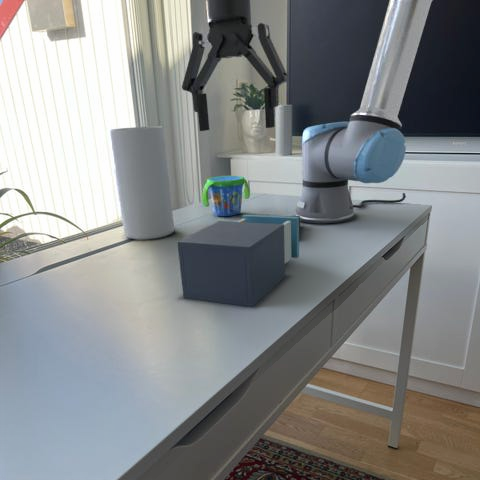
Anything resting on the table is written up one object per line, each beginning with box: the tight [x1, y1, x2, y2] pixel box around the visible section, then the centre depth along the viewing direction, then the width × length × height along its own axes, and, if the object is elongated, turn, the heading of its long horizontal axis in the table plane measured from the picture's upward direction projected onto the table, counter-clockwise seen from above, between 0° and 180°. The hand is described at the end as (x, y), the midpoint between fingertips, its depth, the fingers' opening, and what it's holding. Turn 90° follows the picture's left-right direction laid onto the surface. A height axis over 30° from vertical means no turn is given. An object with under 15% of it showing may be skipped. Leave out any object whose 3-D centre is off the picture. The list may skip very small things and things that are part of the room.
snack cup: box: [201, 175, 251, 217], centre depth 136 cm, size 16×10×10 cm
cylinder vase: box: [107, 125, 175, 241], centre depth 116 cm, size 12×12×25 cm
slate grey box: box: [176, 220, 286, 308], centre depth 81 cm, size 15×13×10 cm
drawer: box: [236, 214, 300, 264], centre depth 91 cm, size 19×11×8 cm, turn 155°
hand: (236, 129), depth 90 cm, fingers open, 13 cm apart
